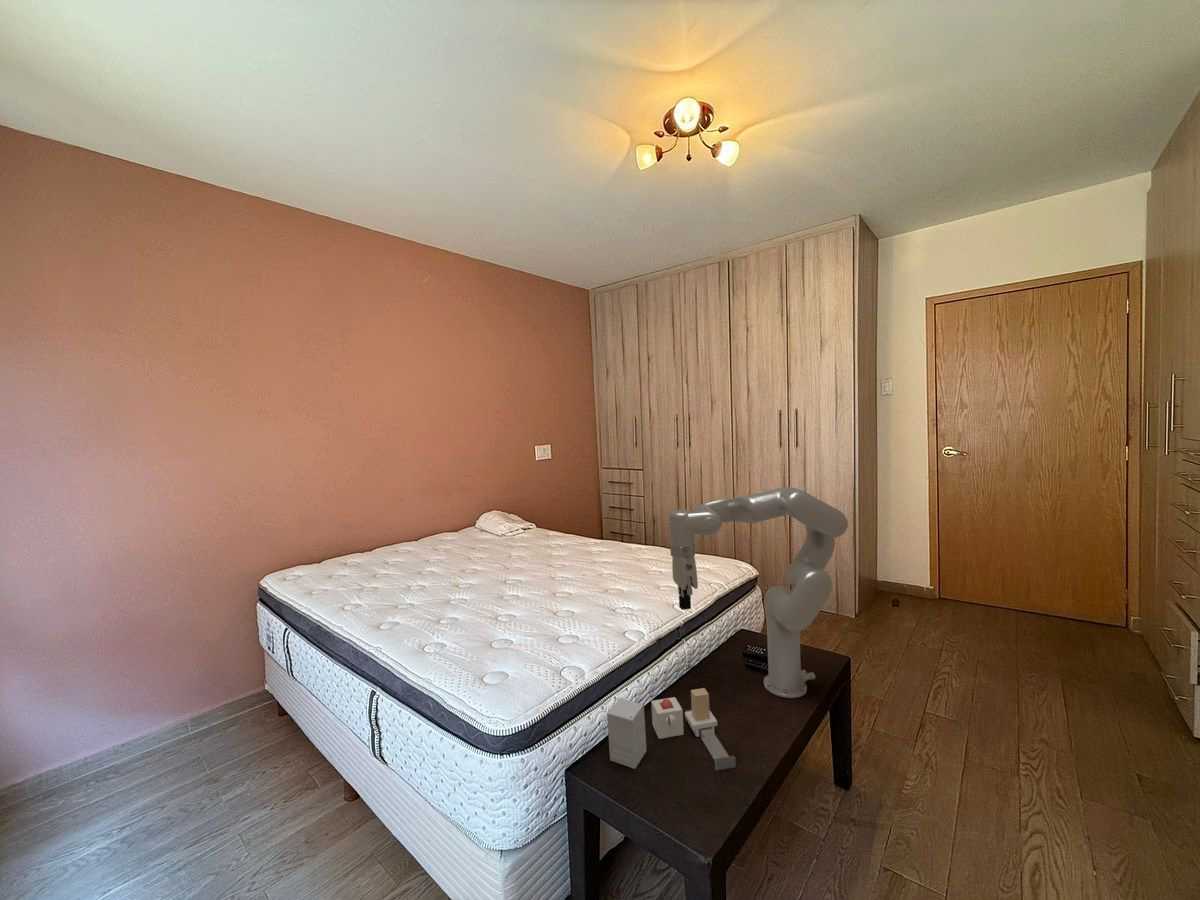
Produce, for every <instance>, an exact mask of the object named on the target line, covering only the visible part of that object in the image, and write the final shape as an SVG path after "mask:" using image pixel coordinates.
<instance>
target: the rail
mask: <svg viewBox="0 0 1200 900" xmlns="http://www.w3.org/2000/svg"><path fill="white" fill-rule="evenodd" d="M689 711H692V708H690V709H686V710H685V712H689ZM685 712H684V713H685ZM685 720H686V721H687V719H686V718H685ZM699 737H700V738H701V740H702V742H703V744H704V745H705V748H706V749H707V750H708V752H709V754H710V755H711V757H712V759H713V761H714V769H715V771H716V772H718V771H724V770H729V769H733V768H737V767H736V757H735V755H729V754H728V752H727V751H726V749H725V748H724V746H723V744H722V743H721V741H720V740H719V739H718V737H717V735H716V734H714V732H713V731H712V729H711V728H710V727H707V728H701V729H699Z"/></svg>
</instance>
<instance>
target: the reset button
mask: <svg viewBox="0 0 1200 900" xmlns="http://www.w3.org/2000/svg"><path fill="white" fill-rule="evenodd" d="M663 699H664V700H663V701H662V702H663V710H664V709H670V708H671V701H670V700H669V699H666V698H663Z"/></svg>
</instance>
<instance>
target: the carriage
mask: <svg viewBox="0 0 1200 900" xmlns="http://www.w3.org/2000/svg"><path fill="white" fill-rule="evenodd" d="M690 699H691V700H690V702H691V703H690V705H691V709H692V711H689V712H684V717H685V720H686V719H687V720H686V721H687V722H688V725H689V726H690V728H691V730H692V732H693V734H694V735H695V737H696V738H697V737H700V735H699V729H701V728H707V727H710V728H711V729H712V731H713V732H714V734H715V727H716V726H718V720H717V718H716V717H715V716H714V715H713V713H712V711H711V710H710V693H708V691H707V689H706V688H705V687H702V688H696V689H691V690H690ZM715 735H716V734H715Z"/></svg>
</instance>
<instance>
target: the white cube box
mask: <svg viewBox="0 0 1200 900" xmlns="http://www.w3.org/2000/svg"><path fill="white" fill-rule="evenodd" d="M664 699H669V700H670V701H671V708H670V709H664V710H663V702H662V701H663V700H664ZM650 702H651V720H652V722H651V723H652V724H651V725H652V726H653V730H654V731H655V733H656V736H657V738H658V740H660V739H661V740H663V739H667V738H672V737H676V736H682V735H684V732H685V731H684V711H683V708H682V706H681V705H680V703H679V701H678V700H677V698H676V697H675V696H674V697H667V698H666V697H665V698H662V699H661V698H660V699H655V700H651V701H650Z"/></svg>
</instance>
